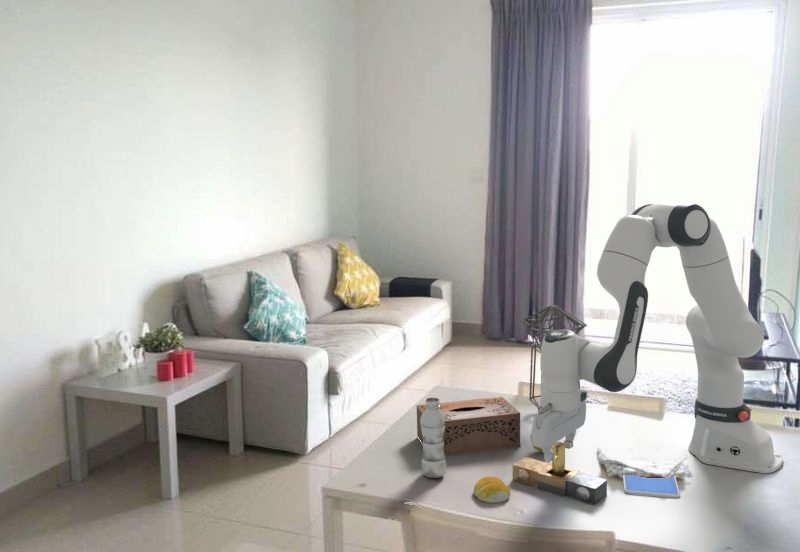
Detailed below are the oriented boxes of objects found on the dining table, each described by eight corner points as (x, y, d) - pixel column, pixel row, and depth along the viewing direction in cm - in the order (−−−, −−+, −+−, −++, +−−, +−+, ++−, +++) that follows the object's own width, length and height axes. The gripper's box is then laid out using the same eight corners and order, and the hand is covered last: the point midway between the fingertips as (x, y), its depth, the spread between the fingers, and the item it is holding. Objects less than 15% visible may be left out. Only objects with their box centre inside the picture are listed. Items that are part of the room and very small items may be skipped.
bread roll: (500, 485, 179) (500, 469, 179) (514, 501, 171) (514, 485, 170) (468, 489, 177) (468, 474, 177) (481, 506, 169) (481, 490, 168)
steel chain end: (607, 494, 172) (608, 478, 172) (593, 506, 167) (594, 489, 166) (552, 478, 182) (552, 463, 181) (537, 488, 176) (537, 473, 176)
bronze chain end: (579, 486, 177) (579, 470, 176) (565, 497, 172) (565, 481, 171) (526, 470, 186) (526, 455, 186) (511, 480, 181) (511, 465, 180)
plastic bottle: (426, 483, 181) (424, 405, 178) (418, 472, 188) (416, 397, 184) (450, 479, 183) (449, 402, 179) (441, 468, 189) (440, 394, 186)
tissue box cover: (430, 458, 197) (429, 422, 195) (417, 438, 210) (416, 405, 209) (520, 447, 202) (520, 413, 200) (502, 429, 216) (501, 396, 214)
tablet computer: (621, 462, 191) (621, 457, 191) (672, 466, 188) (672, 461, 188) (624, 495, 173) (624, 490, 173) (680, 500, 170) (680, 495, 169)
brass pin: (567, 486, 177) (567, 443, 175) (560, 491, 175) (561, 447, 173) (555, 483, 179) (556, 440, 177) (549, 488, 177) (550, 444, 175)
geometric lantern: (590, 422, 219) (589, 308, 212) (541, 429, 215) (539, 313, 209) (566, 404, 234) (565, 297, 228) (520, 410, 231) (518, 302, 224)
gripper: (549, 413, 163) (548, 472, 165) (591, 390, 178) (590, 443, 181) (524, 408, 167) (524, 465, 170) (567, 385, 183) (567, 438, 185)
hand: (558, 453), depth 175 cm, fingers open, 8 cm apart
